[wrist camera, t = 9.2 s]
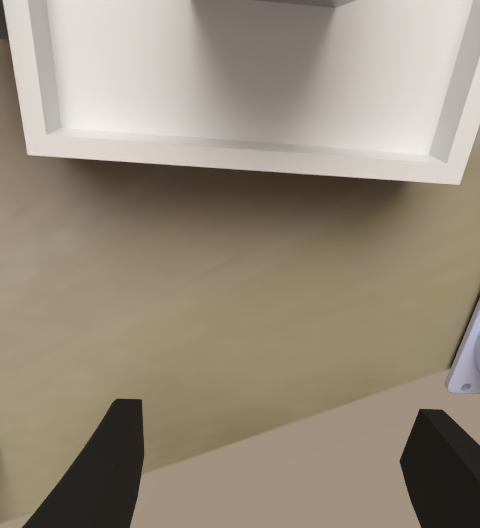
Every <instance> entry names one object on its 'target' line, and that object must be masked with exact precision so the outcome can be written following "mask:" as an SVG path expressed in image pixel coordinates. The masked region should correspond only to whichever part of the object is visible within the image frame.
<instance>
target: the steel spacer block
mask: <svg viewBox="0 0 480 528" xmlns="http://www.w3.org/2000/svg"><path fill="white" fill-rule="evenodd" d="M255 1H266V2H277V3H289V4H300V5H311V6H322V7H333V8H336V7H339V6H342V5H345V4H348V3H350V2H353V1H356V0H255Z"/></svg>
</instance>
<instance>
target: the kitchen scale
mask: <svg viewBox="0 0 480 528" xmlns="http://www.w3.org/2000/svg"><path fill="white" fill-rule="evenodd" d="M0 38H3V39H9V42H10V48H11V55H12V61H13V67H14V73H15V79H16V86H17V92H18V98H19V104H20V110H21V117H22V123H23V129H24V135H25V141H26V148H27V154H28V155H34V156H49V157H63V158H78V159H93V160H107V161H122V162H136V163H151V164H166V165H180V166H195V167H209V168H224V169H238V170H253V171H268V172H282V173H297V174H311V175H326V176H341V177H355V178H370V179H384V180H399V181H414V182H428V183H443V184H457V185H460V182H461V179H462V176H463V173H464V170H465V167H466V164H467V161H468V158H469V155H470V152H471V149H472V146H473V143H474V140H475V137H476V134H477V131H478V128H479V125H480V0H356V1H353V2H350V3H348V4H345V5H342V6H339V7H336V8H333V7H322V6H311V5H300V4H289V3H277V2H266V1H255V0H0Z"/></svg>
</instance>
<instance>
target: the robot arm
mask: <svg viewBox="0 0 480 528" xmlns="http://www.w3.org/2000/svg"><path fill="white" fill-rule="evenodd" d="M464 384H465V385H464ZM445 386H446V388H447V389H448V391H450V392H451V393H467V394H468V393H469V394H480V298H479V301H478V303H477V306H476V308H475V311H474V313H473V315H472V318H471V320H470V323H469V325H468V328H467V330H466V333H465V335H464V337H463V340H462V342H461V345H460V347H459V350H458V352H457V354H456V357H455V359H454V362H453V364H452V367H451V369H450V372H449V374H448V376H447V379H446V381H445ZM143 459H144V438H143V416H142V400H141V399H116V400H115V401H113V403H112V404H111V406H110V408H109V410H108V411H107V413H106V415H105V416H104V418H103V420H102V421H101V423H100V424H99V426H98V427H97V429H96V430H95V432H94V434H93V435H92V436H91V438H90V439H89V441H88V442H87V444H86V445H85V447H84V448H83V450H82V451H81V452H80V454H79V455H78V457H77V458H76V459H75V461H74V462H73V464H72V465H71V466H70V468H69V469H68V470H67V472H66V473H65V475H64V476H63V477H62V479H61V480H60V481H59V483H58V484H57V485H56V486H55V488H54V489H53V490H52V491H51V493H50V494H49V495H48V496H47V498H46V499H45V500H44V501H43V503H42V504H41V505H40V506H39V508H38V509H37V510H36V512H35V513H34V514H33V515H32V516H31V518H30V519H29V520H28V521H27V522H26V524H25V525H24V526H23V527H22V528H130V524H131V520H132V516H133V512H134V509H135V504H136V501H137V497H138V491H139V484H140V478H141V472H142V466H143ZM400 464H401V468H402V471H403V475H404V479H405V483H406V486H407V490H408V493H409V496H410V500H411V503H412V505H413V508H414V510H415V513H416V515H417V518H418V520H419V522H420V525H421V528H480V445H478V444H477V442H476V441H475V440H473V439H472V438H471V437H470V436H469V435H468V434H467V433H466V432H465V431H464V430H463V429H462V428H461V427H460V426H459V425H458V424H457V423H456V422H455V421H454V420H453V419H452V418H451V417H450V416H449V415H447V414H446V413H445V412H444V411H443V410H433V409H420V410H419V412H418V415H417V417H416V420H415V423H414V425H413V428H412V430H411V433H410V436H409V438H408V441H407V443H406V446H405V448H404V451H403V454H402V456H401V459H400Z"/></svg>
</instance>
